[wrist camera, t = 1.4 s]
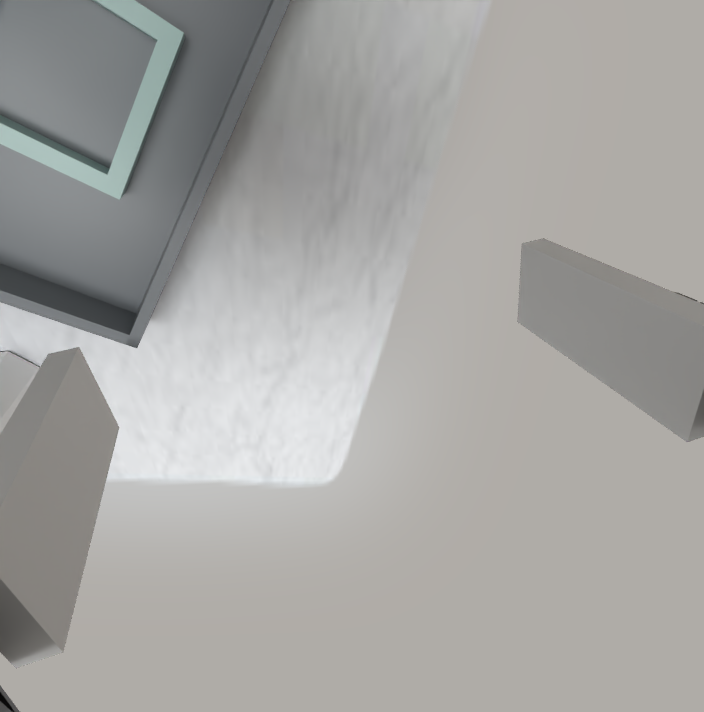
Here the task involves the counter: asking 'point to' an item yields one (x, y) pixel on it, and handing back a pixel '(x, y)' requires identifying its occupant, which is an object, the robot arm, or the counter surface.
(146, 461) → the counter surface
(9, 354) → the salt shaker
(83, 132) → the bin
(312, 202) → the counter surface
